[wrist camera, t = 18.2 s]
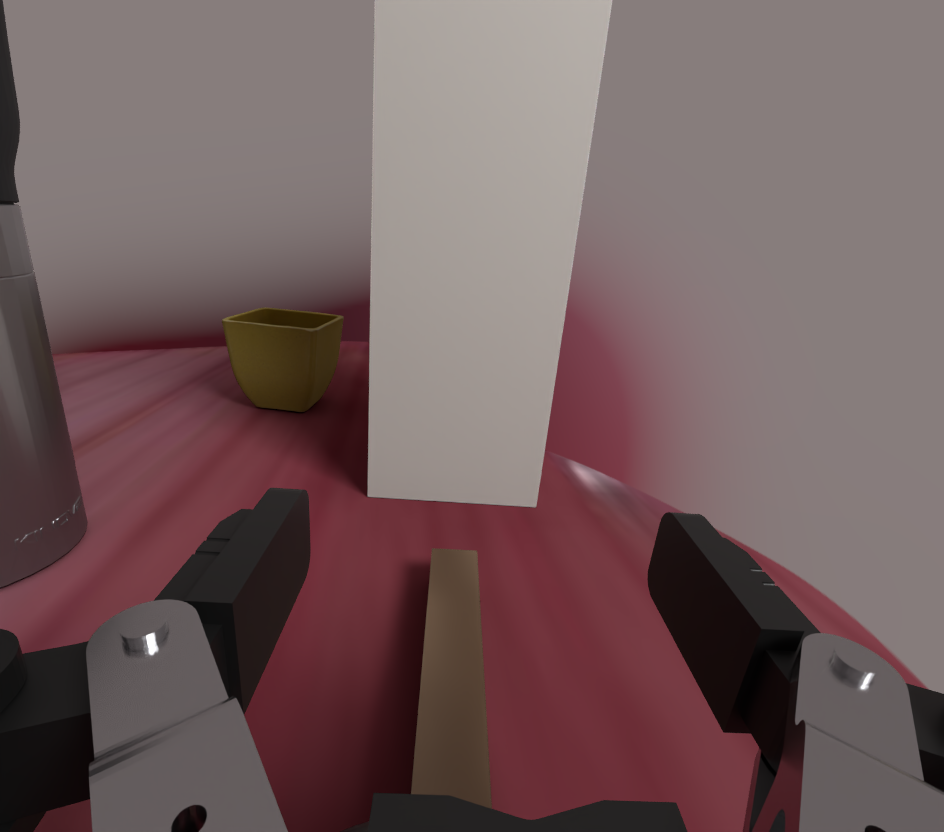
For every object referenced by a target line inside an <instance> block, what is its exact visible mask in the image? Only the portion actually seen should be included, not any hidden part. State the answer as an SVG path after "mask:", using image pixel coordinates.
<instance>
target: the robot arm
mask: <svg viewBox="0 0 944 832" xmlns="http://www.w3.org/2000/svg"><path fill="white" fill-rule="evenodd" d="M19 134H20V119H19V110H18V103H17V98H16V91H15V85H14V77H13V71H12V65H11V57H10V51H9V44H8V37H7V30H6V22H5V15H4V7H3V1H2V0H0V587H3V586H6V585H8V584H11V583H13V582H15V581H18V580H20V579H22V578H24V577H27V576H29V575H31V574H33V573H35V572H37V571H39V570H41V569H42V568H44V567H46V566H48V565H50V564H52V563H53V562H55V561H56V560H58V559H59V558H60V557H62V556H63V555H65V554H66V553H68V552H69V551H70V550H71V549H72V548H73V547H74V546H75V545H76V544H77V543H78V542H79V541H80V540H81V538H82V537H83V535H84V534H85V532H86V529H87V523H88V522H87V517H86V513H85V508H84V503H83V499H82V494H81V489H80V485H79V480H78V475H77V471H76V466H75V460H74V455H73V450H72V446H71V441H70V436H69V432H68V427H67V422H66V418H65V413H64V408H63V404H62V399H61V394H60V390H59V385H58V380H57V376H56V371H55V366H54V361H53V357H52V352H51V347H50V343H49V338H48V333H47V329H46V324H45V320H44V315H43V310H42V305H41V301H40V296H39V291H38V287H37V282H36V277H35V273H34V272H33V270H34V269H33V264H32V260H31V255H30V250H29V246H28V241H27V237H26V232H25V227H24V223H23V218H22V213H21V209H20V206H19V205H15V204H14V203H17V202H19V199H18V194H17V190H16V184H15V177H14V165H15V159H16V153H17V148H18V143H19ZM309 562H310V522H309V498H308V493H307V491H306V490H299V489H283V488H270V489H268V490H267V492H266V493H265V494H264V496H263V497H262V498H261V500H260V501H259V502H258V504H257V505H256V506H255V508H254V509H253V510H251V509H241V510H239V511H237V512H236V513H234V514H232V515H231V516H229V517H227V518H226V519H224V520H222V521H221V522H220V523H219V524H218V525H217V526H216V527H215V529H214V530H213V531H212V532H211V533H210V534H209V536H208V537H207V540H206V541H204V542H203V543H202V544H201V545H200V546H199V547H198V549H197V550H196V553H195V554H193V555H192V556H191V557H190V558H189V559H188V561H187V562H186V563H185V564H184V565H183V566H182V568H181V569H180V570H179V571H178V572H177V574H176V575H175V576H174V577H173V578H172V579H171V581H170V582H169V583H168V584H167V585H166V587H165V588H164V589H163V590H162V591H161V593H160V594H159V595H158V596H157V597H156V598H155V600H154V601H150V602H146V603H142V604H139V605H136V606H134V607H131V608H129V609H126V610H124V611H122V612H120V613H118V614H117V615H115V616H113V617H112V618H110V619H109V620H108V621H106V622H105V623H104V624H103V625H101V626H100V627H99V628H98V629H97V630H96V632H95V633H94V634H93V635H92V637H91V638H90V640H89V641H87V642H83V643H79V644H74V645H69V646H63V647H58V648H52V649H47V650H41V651H36V652H30V653H25V654H22V651H21V648H20V645H19V641H18V639H17V637H16V636H15V635H14V634H13V633H11V632H9V631H7V630H3V629H0V832H33V831H34V830H35V828H36V826H37V825H38V823H39V822H40V820H41V819H42V817H43V816H44V814H45V813H46V811H49V810H52V809H56V808H60V807H63V806H67V805H70V804H74V803H77V802H81V801H85V800H88V799H90V801H91V816H92V831H93V832H288V831H287V828H286V826H285V823H284V820H283V818H282V815H281V812H280V810H279V807H278V805H277V802H276V799H275V797H274V794H273V791H272V789H271V786H270V783H269V781H268V778H267V775H266V773H265V770H264V767H263V765H262V762H261V759H260V757H259V754H258V751H257V749H256V746H255V744H254V741H253V738H252V736H251V733H250V730H249V728H248V725H247V722H246V720H245V717H244V714H245V711H246V709H247V707H248V705H249V703H250V700H251V698H252V696H253V694H254V692H255V689H256V687H257V685H258V683H259V680H260V678H261V676H262V674H263V672H264V669H265V667H266V665H267V663H268V661H269V658H270V656H271V654H272V652H273V650H274V647H275V645H276V643H277V641H278V638H279V636H280V634H281V632H282V630H283V627H284V625H285V623H286V621H287V619H288V616H289V614H290V612H291V610H292V608H293V605H294V603H295V601H296V599H297V596H298V594H299V592H300V590H301V588H302V585H303V583H304V581H305V578H306V576H307V572H308V568H309ZM774 583H775V582H774V581H773V580H772V579H771V578H770V577H769V576H768V575H767V574H766V573H765V572H762V568H761V567H760V566H759V565H758V564H757V563H756V562H755V561H754V560H753V558H752V557H751V556H750V555H749V554H748V553H747V552H746V551H744V550H743V549H741V548H740V547H738V546H737V545H735V544H734V543H732V542H731V541H729V540H728V539H726V538H722V537H721V535H720V534H719V533H718V532H717V531H716V530H715V529H714V527H713V526H712V525H711V524H710V523H709V522H708V521H707V519H706V518H705V517H703V516H702V515H700V514H686V513H670V512H668V513H665V514H664V515H663V517H662V519H661V522H660V525H659V529H658V533H657V537H656V541H655V545H654V549H653V553H652V557H651V561H650V565H649V569H648V587H649V592H650V595H651V597H652V599H653V601H654V603H655V605H656V607H657V609H658V611H659V613H660V614H661V616H662V618H663V620H664V622H665V624H666V626H667V628H668V629H669V631H670V633H671V635H672V637H673V639H674V641H675V643H676V644H677V646H678V648H679V650H680V652H681V654H682V656H683V657H684V659H685V661H686V663H687V665H688V667H689V669H690V671H691V672H692V674H693V676H694V678H695V680H696V682H697V684H698V686H699V687H700V689H701V691H702V693H703V695H704V697H705V699H706V701H707V702H708V704H709V706H710V708H711V710H712V712H713V714H714V716H715V717H716V719H717V721H718V723H719V725H720V727H721V729H722V730H723V732H725V733H750V734H752V736H753V738H754V739H755V741H756V743H757V744H758V746H759V750H758V752H757V754H756V757H755V761H754V767H753V773H752V779H751V785H750V791H749V797H748V803H747V809H746V815H745V821H744V827H743V832H944V694H942V693H938V692H935V691H931V690H928V689H924V688H921V687H917V686H914V685H910V684H907V683H905V681H904V680H903V678H902V677H901V676H900V674H899V673H898V672H897V671H896V670H895V669H894V668H893V667H892V666H891V665H890V664H889V663H887V662H886V661H885V660H884V659H882V658H881V657H880V656H878V655H877V654H875V653H874V652H872V651H871V650H869V649H867V648H865V647H864V646H862V645H860V644H858V643H855V642H853V641H851V640H848V639H846V638H843V637H839V636H836V635H831V634H824V633H820V632H819V631H818V629H817V628H816V627H815V626H814V625H813V624H812V623H811V622H810V621H809V620H808V619H807V617H806V616H805V615H804V614H803V613H802V612H801V611H800V610H799V609H798V608H797V607H796V605H795V604H794V603H793V602H792V601H791V600H790V599H789V598H788V597H787V596H786V595H785V593H784V592H783V591H782V590H781V589H780V588H779V587H778V586H775V584H774ZM341 832H687V830H686V827H685V824H684V822H683V819H682V817H681V814H680V811H679V809H678V806H677V804H676V803H672V802H641V801H610V800H603V801H599V802H596V803H592V804H589V805H585V806H582V807H578V808H575V809H571V810H568V811H564V812H561V813H557V814H554V815H550V816H547V817H543V818H540V819H535V820H526V819H522V818H518V817H515V816H512V815H509V814H506V813H503V812H500V811H497V810H494V809H491V808H487V807H484V806H481V805H478V804H475V803H472V802H469V801H466V800H463V799H460V798H456V797H453V796H450V795H424V794H393V793H374V794H373V801H372V807H371V813H370V820H369V822H365V823H362V824H359V825H355V826H352V827H350V828H348V829H345V830H343V831H341Z"/></svg>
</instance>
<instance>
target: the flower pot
mask: <svg viewBox="0 0 944 832" xmlns="http://www.w3.org/2000/svg"><path fill="white" fill-rule="evenodd" d="M222 323H223V328H224V333H225V338H226V343H227V348H228V352H229V357H230V361H231V366H232V369H233V372H234V375H235V378H236V380H237V382H238V384H239V385H240V387H241V389H242V390H243V392H244V393H245V395H246V396H247V397H248V398H249V399H250V400H251V402H252V403H253V404H254V405H255V406H257V407H261V408H271V409H280V410H288V411H297V412H305V411H307V410H308V409H309V408H310V407H311V406H313V405H314V404H315V403H316V402H317V401H318V400H319V399H321V397H322V396H323V394H324V392H325V391H326V389H327V387H328V386H329V384H330V382H331V379H332V377H333V375H334V372H335V369H336V366H337V361H338V356H339V349H340V341H341V333H342V324H343V316H339V315H332V314H324V313H315V312H305V311H295V310H286V309H276V308H259V309H255V310H252V311H248V312H245V313H241V314H238V315H234V316H231V317H227V318H224V319H223V320H222Z"/></svg>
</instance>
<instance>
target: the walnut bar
mask: <svg viewBox="0 0 944 832" xmlns="http://www.w3.org/2000/svg"><path fill="white" fill-rule="evenodd" d="M411 794H424V795H450V796H453V797H456V798H460V799H463V800H466V801H469V802H472V803H475V804H478V805H481V806H484V807H487V808H491V809H492V805H491V787H490V770H489V752H488V735H487V717H486V700H485V682H484V665H483V648H482V630H481V613H480V595H479V578H478V560H477V551H471V550H451V549H432V556H431V568H430V579H429V591H428V602H427V614H426V626H425V637H424V649H423V661H422V672H421V684H420V695H419V707H418V719H417V730H416V742H415V753H414V765H413V777H412V788H411Z"/></svg>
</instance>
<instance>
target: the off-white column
mask: <svg viewBox="0 0 944 832" xmlns="http://www.w3.org/2000/svg"><path fill="white" fill-rule="evenodd" d="M611 6H612V0H375V19H374V23H375V25H374V89H373V156H372V225H371V295H370V296H371V297H370V362H369V430H368V497H379V498H395V499H411V500H427V501H443V502H459V503H475V504H492V505H508V506H524V507H536V505H537V498H538V491H539V485H540V478H541V471H542V465H543V458H544V451H545V445H546V438H547V431H548V425H549V418H550V412H551V405H552V398H553V392H554V385H555V378H556V372H557V364H558V359H559V351H560V345H561V338H562V331H563V325H564V319H565V312H566V306H567V299H568V292H569V286H570V278H571V272H572V266H573V259H574V252H575V245H576V238H577V233H578V226H579V219H580V212H581V206H582V198H583V193H584V186H585V179H586V173H587V166H588V160H589V153H590V146H591V140H592V133H593V126H594V119H595V113H596V106H597V100H598V93H599V86H600V80H601V73H602V67H603V60H604V53H605V47H606V40H607V33H608V26H609V20H610V14H611Z"/></svg>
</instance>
